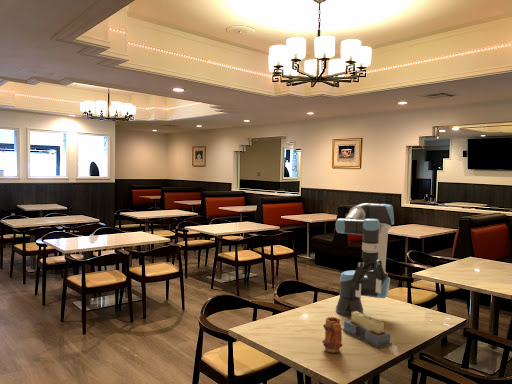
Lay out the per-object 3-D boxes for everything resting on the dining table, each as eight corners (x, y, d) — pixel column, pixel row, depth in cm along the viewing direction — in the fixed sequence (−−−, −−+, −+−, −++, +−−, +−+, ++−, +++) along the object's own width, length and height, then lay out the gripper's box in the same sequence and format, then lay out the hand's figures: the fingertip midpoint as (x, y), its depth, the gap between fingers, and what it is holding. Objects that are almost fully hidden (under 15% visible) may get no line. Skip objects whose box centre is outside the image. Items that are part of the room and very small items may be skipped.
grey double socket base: (342, 330, 208) (343, 320, 208) (354, 327, 212) (354, 317, 212) (379, 348, 188) (380, 338, 187) (391, 345, 192) (392, 334, 191)
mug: (320, 346, 189) (321, 313, 188) (337, 345, 190) (339, 313, 189) (328, 361, 174) (330, 326, 173) (347, 360, 175) (348, 326, 174)
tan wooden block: (350, 329, 206) (351, 312, 206) (355, 328, 208) (356, 311, 208) (377, 343, 191) (378, 324, 191) (383, 341, 193) (383, 322, 193)
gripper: (356, 255, 188) (354, 301, 190) (394, 250, 201) (392, 293, 202) (345, 252, 194) (343, 296, 196) (382, 247, 207) (380, 289, 209)
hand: (368, 294), depth 199 cm, fingers open, 13 cm apart
